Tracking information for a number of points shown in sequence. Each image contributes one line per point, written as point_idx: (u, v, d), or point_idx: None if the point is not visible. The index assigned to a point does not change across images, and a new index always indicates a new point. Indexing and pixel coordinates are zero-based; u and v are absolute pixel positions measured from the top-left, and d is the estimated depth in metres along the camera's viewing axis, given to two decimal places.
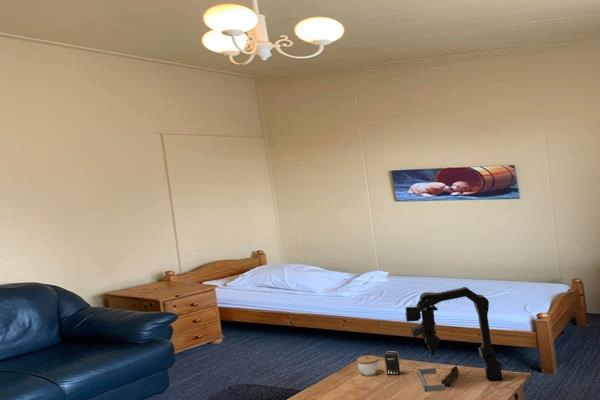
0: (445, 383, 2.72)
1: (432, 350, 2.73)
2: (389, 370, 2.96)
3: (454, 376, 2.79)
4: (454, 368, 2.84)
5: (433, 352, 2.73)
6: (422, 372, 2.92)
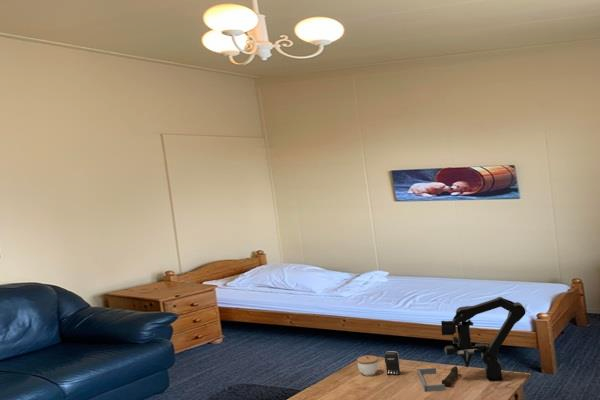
0: (446, 383, 2.72)
1: (464, 361, 2.80)
2: (389, 370, 2.96)
3: (454, 376, 2.79)
4: (454, 368, 2.84)
5: (465, 364, 2.79)
6: (422, 372, 2.92)
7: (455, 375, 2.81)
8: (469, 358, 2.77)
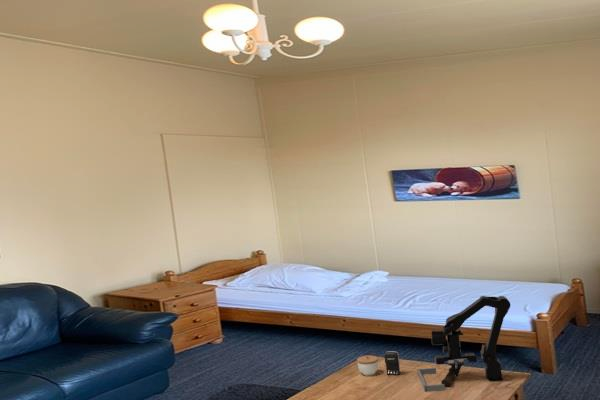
0: (445, 383, 2.72)
1: None
2: (389, 370, 2.96)
3: (452, 376, 2.80)
4: (452, 368, 2.85)
5: None
6: (422, 372, 2.92)
7: (453, 375, 2.81)
8: (458, 367, 2.78)
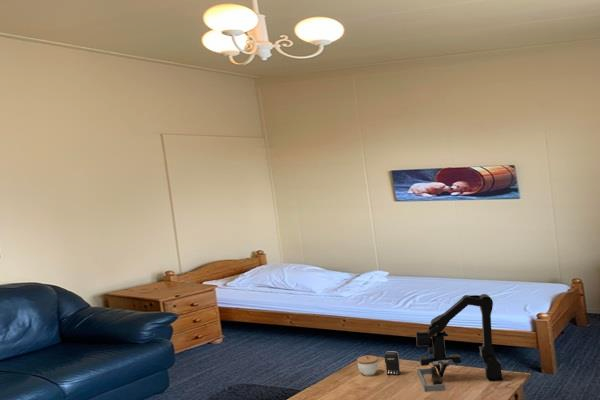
0: None
1: None
2: (389, 370, 2.96)
3: None
4: (433, 368, 2.86)
5: (439, 374, 2.80)
6: (422, 372, 2.92)
7: None
8: (443, 368, 2.78)
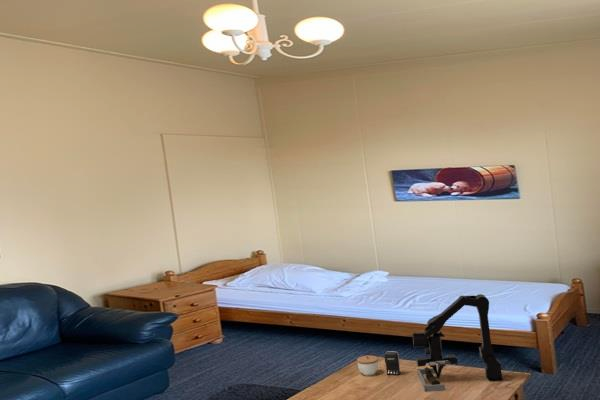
0: (436, 384, 2.72)
1: (435, 372, 2.81)
2: (389, 370, 2.96)
3: None
4: (427, 369, 2.86)
5: (436, 375, 2.80)
6: (422, 372, 2.92)
7: None
8: (440, 369, 2.78)
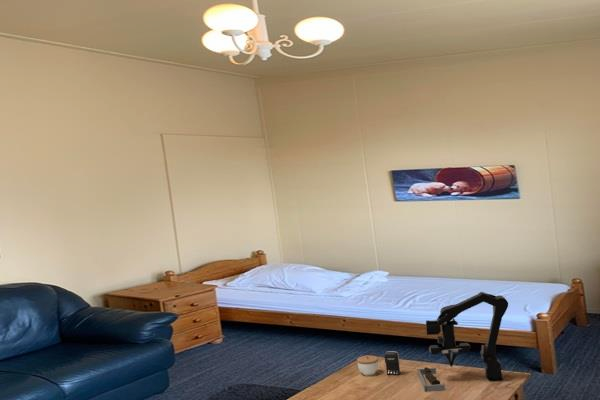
0: (436, 384, 2.72)
1: (448, 361, 2.80)
2: (389, 370, 2.96)
3: None
4: (427, 369, 2.86)
5: (449, 363, 2.80)
6: (422, 372, 2.92)
7: None
8: (453, 357, 2.78)
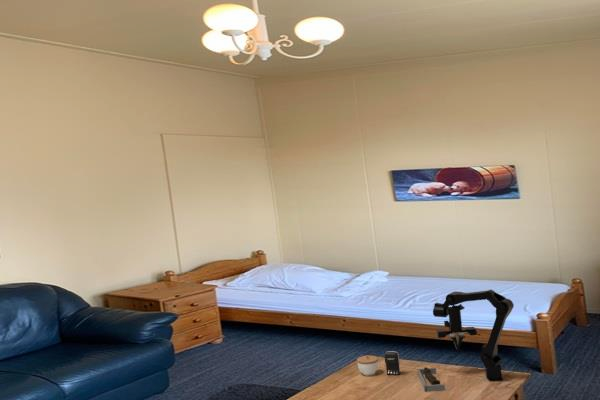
0: (436, 384, 2.72)
1: None
2: (389, 370, 2.96)
3: None
4: (427, 369, 2.86)
5: None
6: (422, 372, 2.92)
7: None
8: (459, 340, 2.85)
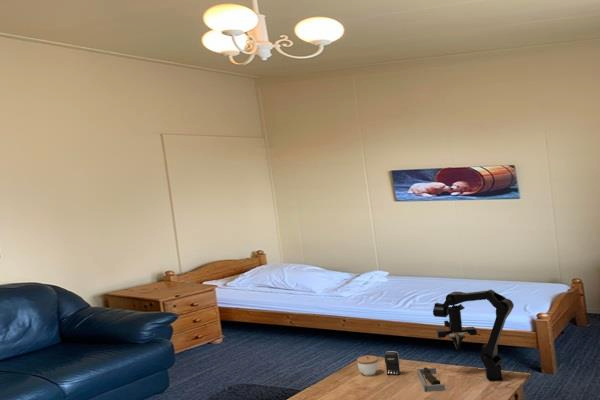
0: (436, 384, 2.72)
1: None
2: (389, 370, 2.96)
3: None
4: (427, 369, 2.86)
5: None
6: (422, 372, 2.92)
7: None
8: (459, 340, 2.85)
